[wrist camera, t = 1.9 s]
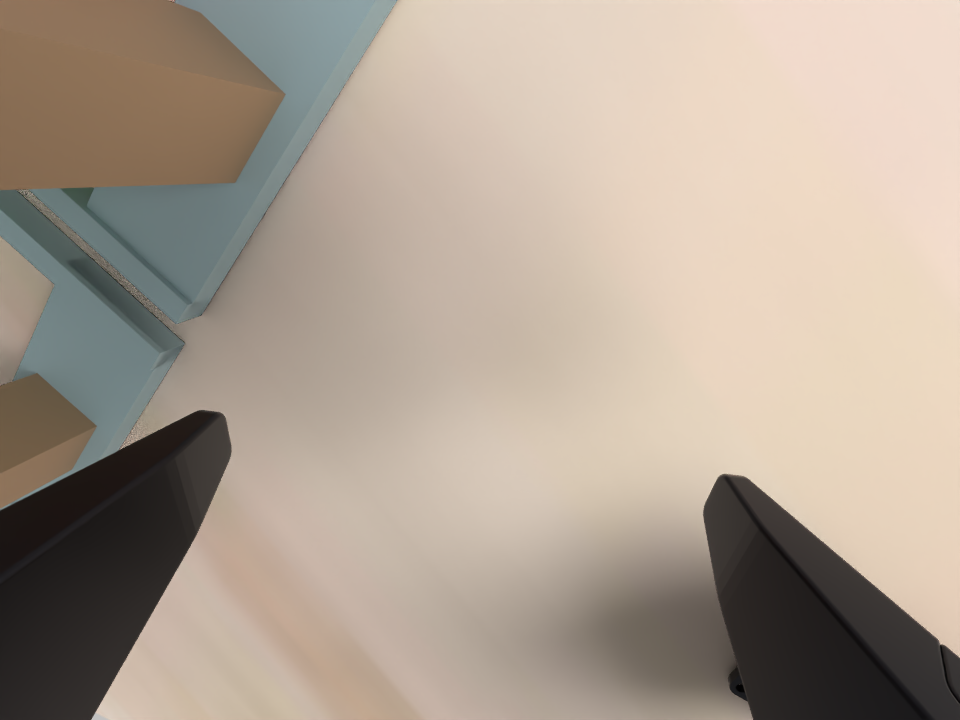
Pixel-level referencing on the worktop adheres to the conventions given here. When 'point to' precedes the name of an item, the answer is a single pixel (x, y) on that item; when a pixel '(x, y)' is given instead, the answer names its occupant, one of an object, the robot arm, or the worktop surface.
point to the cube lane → (220, 213)
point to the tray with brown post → (73, 362)
